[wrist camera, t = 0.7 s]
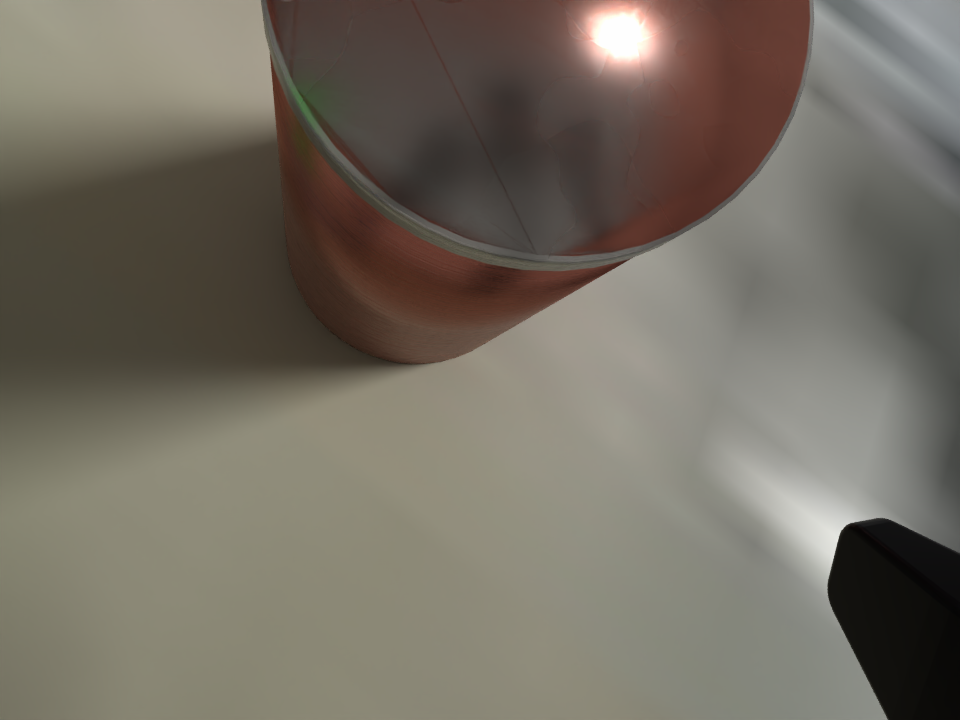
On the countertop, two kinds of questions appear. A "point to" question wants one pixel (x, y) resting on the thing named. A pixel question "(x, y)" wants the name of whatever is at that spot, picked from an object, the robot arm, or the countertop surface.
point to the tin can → (510, 148)
